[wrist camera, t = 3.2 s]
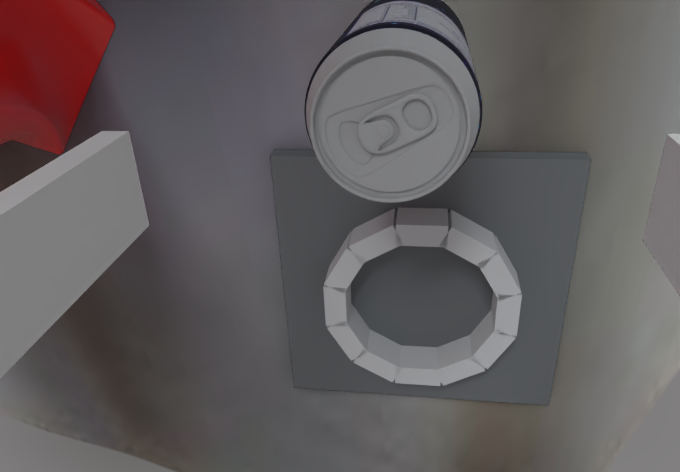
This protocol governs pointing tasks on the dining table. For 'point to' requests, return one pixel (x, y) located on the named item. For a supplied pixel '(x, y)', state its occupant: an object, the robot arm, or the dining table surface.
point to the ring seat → (431, 277)
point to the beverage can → (395, 101)
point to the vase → (48, 67)
